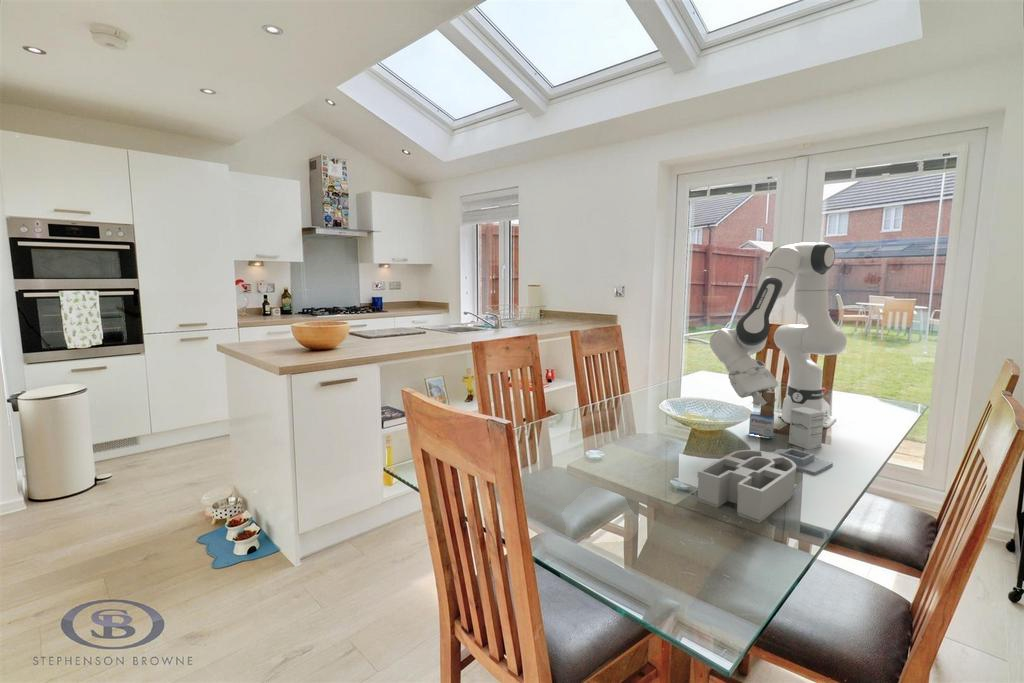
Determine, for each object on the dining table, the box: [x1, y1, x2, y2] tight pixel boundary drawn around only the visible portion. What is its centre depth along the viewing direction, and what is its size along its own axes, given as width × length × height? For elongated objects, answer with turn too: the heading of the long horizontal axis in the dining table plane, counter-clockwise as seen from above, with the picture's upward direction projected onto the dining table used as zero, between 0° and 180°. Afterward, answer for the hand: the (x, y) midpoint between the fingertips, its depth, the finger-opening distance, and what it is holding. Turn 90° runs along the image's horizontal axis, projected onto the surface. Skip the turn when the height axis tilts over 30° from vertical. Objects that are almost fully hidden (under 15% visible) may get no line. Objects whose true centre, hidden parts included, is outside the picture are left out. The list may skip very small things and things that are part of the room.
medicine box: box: [748, 411, 775, 438], centre depth 180 cm, size 8×4×9 cm, turn 62°
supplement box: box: [788, 407, 824, 450], centre depth 170 cm, size 7×7×13 cm
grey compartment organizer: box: [697, 449, 797, 524], centre depth 133 cm, size 17×28×9 cm, turn 131°
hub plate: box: [770, 447, 833, 477], centre depth 155 cm, size 12×16×3 cm
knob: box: [759, 390, 776, 417], centre depth 165 cm, size 4×4×8 cm
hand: (769, 403), depth 164 cm, fingers closed on knob, 4 cm apart
